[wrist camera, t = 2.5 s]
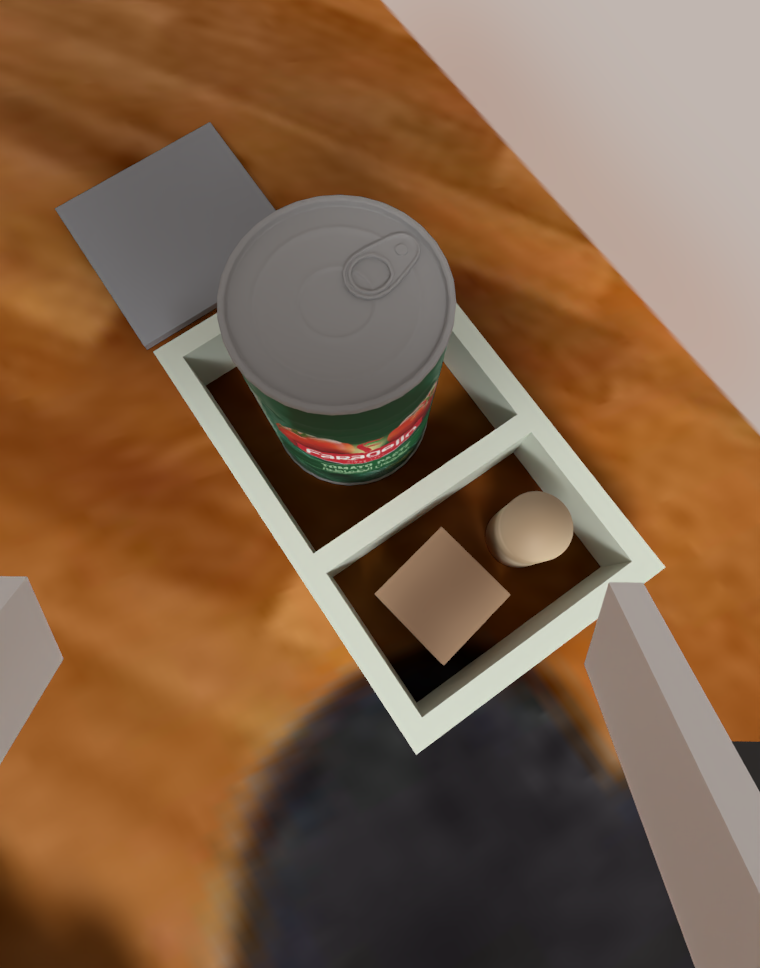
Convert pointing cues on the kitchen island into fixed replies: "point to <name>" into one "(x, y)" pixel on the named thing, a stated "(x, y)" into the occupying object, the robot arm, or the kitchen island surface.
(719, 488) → the kitchen island surface
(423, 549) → the walnut block
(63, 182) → the kitchen island surface
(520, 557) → the beech dowel
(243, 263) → the canned tomato
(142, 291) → the slate coaster
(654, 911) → the kitchen island surface
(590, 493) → the caddy
